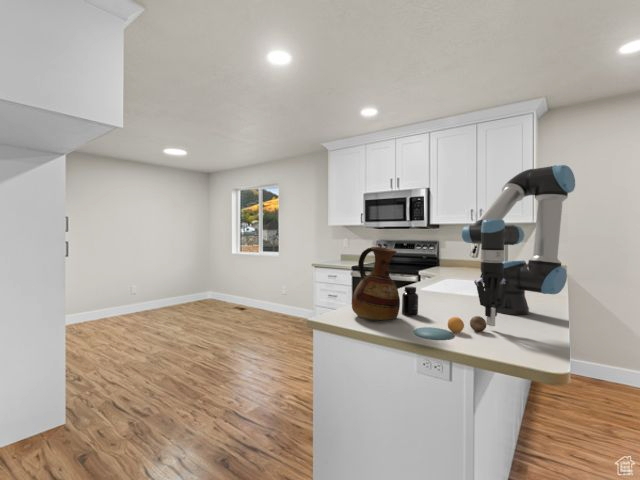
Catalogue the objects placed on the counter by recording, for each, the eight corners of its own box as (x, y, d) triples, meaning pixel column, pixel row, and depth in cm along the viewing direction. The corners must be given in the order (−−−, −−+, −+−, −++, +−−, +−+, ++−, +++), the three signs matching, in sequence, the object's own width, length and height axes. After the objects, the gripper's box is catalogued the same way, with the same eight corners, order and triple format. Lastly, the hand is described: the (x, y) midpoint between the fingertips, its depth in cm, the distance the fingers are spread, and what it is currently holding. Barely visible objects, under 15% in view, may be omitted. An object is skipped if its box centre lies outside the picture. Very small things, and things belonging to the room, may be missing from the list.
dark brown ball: (468, 313, 125) (464, 327, 125) (479, 317, 119) (475, 332, 119) (480, 316, 126) (477, 330, 126) (491, 320, 121) (487, 335, 121)
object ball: (460, 318, 125) (447, 313, 124) (469, 322, 119) (456, 317, 118) (454, 332, 124) (442, 327, 123) (463, 336, 119) (450, 331, 118)
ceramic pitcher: (391, 327, 128) (392, 248, 127) (343, 320, 137) (344, 246, 136) (405, 315, 145) (406, 246, 144) (361, 310, 154) (362, 245, 154)
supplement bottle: (418, 316, 143) (419, 288, 143) (402, 315, 144) (402, 288, 144) (417, 312, 150) (417, 286, 149) (401, 312, 151) (401, 285, 151)
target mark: (440, 327, 128) (440, 326, 128) (462, 338, 114) (462, 338, 114) (406, 328, 125) (406, 328, 125) (424, 341, 112) (424, 340, 112)
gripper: (483, 262, 118) (481, 329, 119) (515, 262, 121) (513, 327, 122) (469, 260, 126) (468, 323, 127) (500, 260, 128) (499, 321, 129)
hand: (490, 325), depth 124 cm, fingers closed
